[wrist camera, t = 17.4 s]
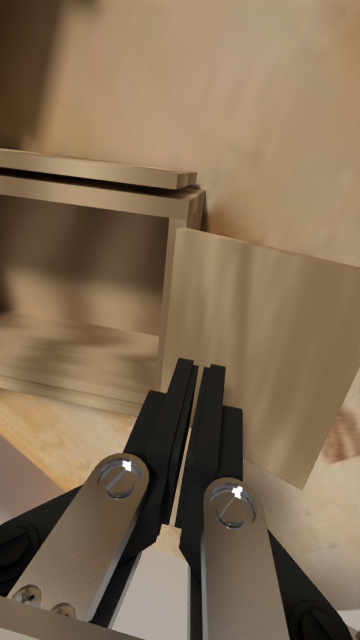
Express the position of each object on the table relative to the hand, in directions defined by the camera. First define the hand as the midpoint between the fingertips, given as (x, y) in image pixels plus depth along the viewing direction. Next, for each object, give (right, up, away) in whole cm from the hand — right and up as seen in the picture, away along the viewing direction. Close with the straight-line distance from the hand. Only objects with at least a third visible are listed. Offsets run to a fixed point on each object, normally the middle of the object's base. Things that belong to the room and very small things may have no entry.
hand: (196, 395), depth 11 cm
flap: (-1, +2, +4) cm, 5 cm away
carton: (-8, +7, +13) cm, 17 cm away
